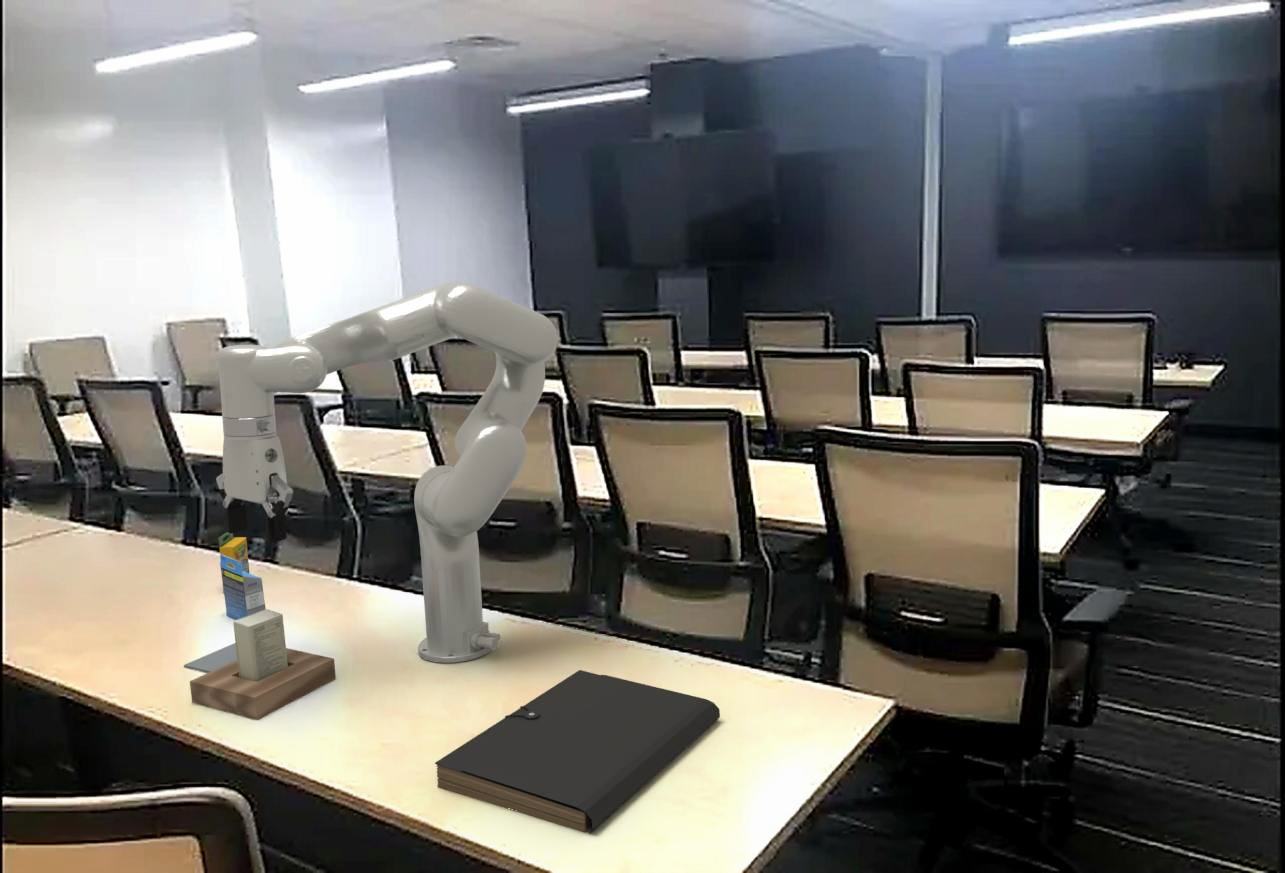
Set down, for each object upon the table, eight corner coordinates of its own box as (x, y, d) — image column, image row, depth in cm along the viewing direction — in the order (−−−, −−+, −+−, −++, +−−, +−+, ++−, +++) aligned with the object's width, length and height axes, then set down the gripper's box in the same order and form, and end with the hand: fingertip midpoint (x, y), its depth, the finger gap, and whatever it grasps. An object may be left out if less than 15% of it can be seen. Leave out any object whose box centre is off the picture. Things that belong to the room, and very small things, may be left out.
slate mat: (291, 653, 181) (291, 650, 181) (234, 679, 171) (234, 677, 171) (241, 642, 187) (241, 640, 187) (184, 667, 176) (183, 664, 176)
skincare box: (274, 680, 170) (267, 608, 168) (291, 686, 167) (284, 613, 165) (239, 694, 165) (231, 620, 163) (256, 701, 162) (248, 625, 160)
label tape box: (268, 620, 197) (261, 557, 195) (247, 627, 194) (240, 562, 192) (244, 610, 203) (238, 548, 201) (224, 616, 200) (217, 553, 198)
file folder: (578, 667, 163) (720, 700, 151) (579, 692, 164) (720, 727, 151) (433, 759, 135) (592, 809, 123) (434, 789, 136) (593, 842, 124)
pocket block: (335, 679, 170) (334, 658, 169) (257, 719, 156) (254, 697, 155) (272, 664, 176) (270, 644, 176) (192, 702, 163) (189, 681, 162)
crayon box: (237, 593, 213) (232, 538, 211) (223, 594, 213) (217, 538, 211) (251, 582, 220) (245, 528, 218) (237, 582, 220) (231, 528, 218)
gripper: (307, 428, 160) (313, 539, 163) (236, 418, 169) (243, 523, 172) (264, 436, 153) (271, 550, 156) (193, 425, 163) (201, 533, 166)
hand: (257, 536), depth 164 cm, fingers open, 9 cm apart
